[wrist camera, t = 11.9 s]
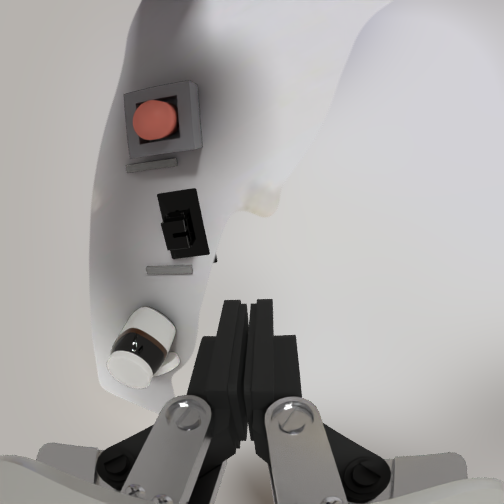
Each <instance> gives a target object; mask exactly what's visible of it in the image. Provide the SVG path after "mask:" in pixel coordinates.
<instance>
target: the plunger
mask: <svg viewBox="0 0 504 504" xmlns="http://www.w3.org/2000/svg"><path fill="white" fill-rule="evenodd" d="M133 127H134V130H135V132H136V133H137V135H139V136H140V137H141V138H143V139H146V140H154V139H160V138H166V137H169V136H171V135H173V134H174V133H175V132H176V131H177V130H178V129H179V117H178V108H177V107H176V106H175V105H174V104H172V103H168V102H163V101H157V100H149V101H146V102H144V103H142V104H141V105H140V106H139V107H138V108H137V110H136V111H135V113H134V116H133Z"/></svg>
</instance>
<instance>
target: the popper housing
mask: <svg viewBox="0 0 504 504" xmlns="http://www.w3.org/2000/svg"><path fill="white" fill-rule="evenodd" d="M149 100H157V101H163V102H168V103H172V104H174V105H175V106H176V107H177V108H178V117H179V129H178V130H177V131H176V132H175V133H174V134H173V135H171V136H169V137H166V138H160V139H154V140H146V139H143V138H141V137H140V136H139V135H137V133H136V132H135V130H134V127H133V116H134V113H135V111H136V110H137V108H138V107H139V106H140V105H141V104H142V103H144V102H146V101H149ZM124 107H125V119H126V129H127V138H128V147H129V155H130V159H134V158H139V157H145V156H152V155H158V154H165V153H172V152H180V151H188V150H195V149H198V148H201V147H203V146H202V135H201V123H200V111H199V98H198V85H197V84H195V83H193V82H191V81H190V80H188V81H182V82H176V83H171V84H166V85H161V86H156V87H151V88H147V89H143V90H138V91H134V92H131V93H127V94H124Z"/></svg>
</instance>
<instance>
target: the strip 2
mask: <svg viewBox="0 0 504 504" xmlns="http://www.w3.org/2000/svg"><path fill="white" fill-rule="evenodd" d="M146 271H147V274H186V273H192V272H193V269H192V265H177V266H147V267H146Z"/></svg>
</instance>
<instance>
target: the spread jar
mask: <svg viewBox="0 0 504 504" xmlns="http://www.w3.org/2000/svg"><path fill="white" fill-rule="evenodd" d="M175 332H176V329H175V326H174V325H173V323H172V322H171V321H170V320H169V319H168V318H167V317H166V316H165V315H164V314H163V313H161V312H160V311H158V310H156V309H154V308H151V307H147V306H143V307H140V308H139V309H137V310H136V311H135V312H134V313H133V314H132V315H131V317H130V318H129V319H128V321H127V323H126V324H125V326H124V328H123V329H122V331H121V333H120V334H119V336H118V338H117V339H116V341H115V343H114V344H113V346H112V349H111V354H110V355H111V356H110V358H109V360H108V361H107V368H108V371H109V372H110V374H111V375H112V376H113V377H114V378H115V379H116V380H117V381H119V382H120V383H122V384H124V385H126V386H128V387H131V388H135V389H143V388H146V387H148V386H149V385H150V382H151V379H152V377H155V376H159V375H162V374H165V373H167V372H169V371H171V370H172V369H174V368H175V367H176V366H178V364H179V363H180V359H179V357H178V355H177V353H175V352H169V349H170V347H171V344H172V342H173V339H174V336H175Z"/></svg>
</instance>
